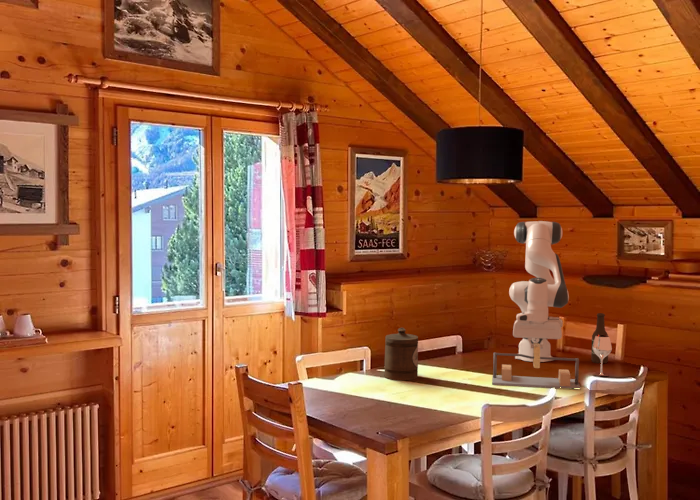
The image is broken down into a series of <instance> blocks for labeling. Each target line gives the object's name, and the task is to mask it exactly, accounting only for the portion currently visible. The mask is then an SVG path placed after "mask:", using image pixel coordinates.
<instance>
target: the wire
mask: <svg viewBox="0 0 700 500" xmlns="http://www.w3.org/2000/svg"><path fill="white" fill-rule="evenodd" d="M496 353H497V356H506V357H507V356H509V357H515V356H522V357H526V358H530V359H534V357H532V356H527V355H523V354H518V353H505V352H502V353H501V352H496ZM540 359H549V360H552V361H570V362H571V361H574V362H575V361H576V359H575V358H572V357H571V358H570V357H569V358H568V357H553V356H552V357H540Z"/></svg>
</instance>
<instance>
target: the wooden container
mask: <svg viewBox="0 0 700 500" xmlns="http://www.w3.org/2000/svg"><path fill="white" fill-rule="evenodd" d="M384 340H385V342H384V344H385V345H384V378H386V379H389V380H393V381H411V380H415V379H417V378H418V375H419V373H418V371H419V370H418V369H419V336H418V335H417V334H416V335H415V334H410V333H406V328H404V327H400V328H398V329H397V333H391V334H386V335H385V339H384Z"/></svg>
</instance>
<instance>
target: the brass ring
mask: <svg viewBox="0 0 700 500" xmlns="http://www.w3.org/2000/svg"><path fill="white" fill-rule="evenodd" d="M533 357H534V359H533V362H532V364H533V369H534V368H535V369H540V368H541V362H540V344H538V343H534V348H533Z"/></svg>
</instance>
